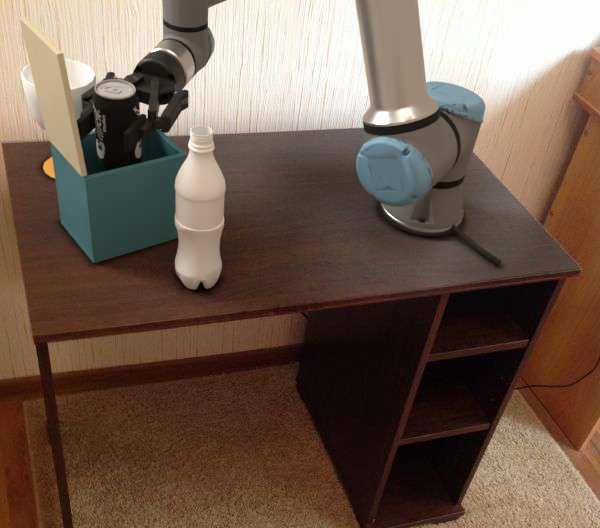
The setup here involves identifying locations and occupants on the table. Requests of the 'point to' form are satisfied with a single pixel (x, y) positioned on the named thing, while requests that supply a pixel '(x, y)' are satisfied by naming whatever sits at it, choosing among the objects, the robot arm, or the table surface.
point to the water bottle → (199, 212)
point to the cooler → (120, 198)
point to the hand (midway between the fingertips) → (102, 136)
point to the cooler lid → (53, 94)
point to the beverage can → (115, 122)
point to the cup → (79, 83)
